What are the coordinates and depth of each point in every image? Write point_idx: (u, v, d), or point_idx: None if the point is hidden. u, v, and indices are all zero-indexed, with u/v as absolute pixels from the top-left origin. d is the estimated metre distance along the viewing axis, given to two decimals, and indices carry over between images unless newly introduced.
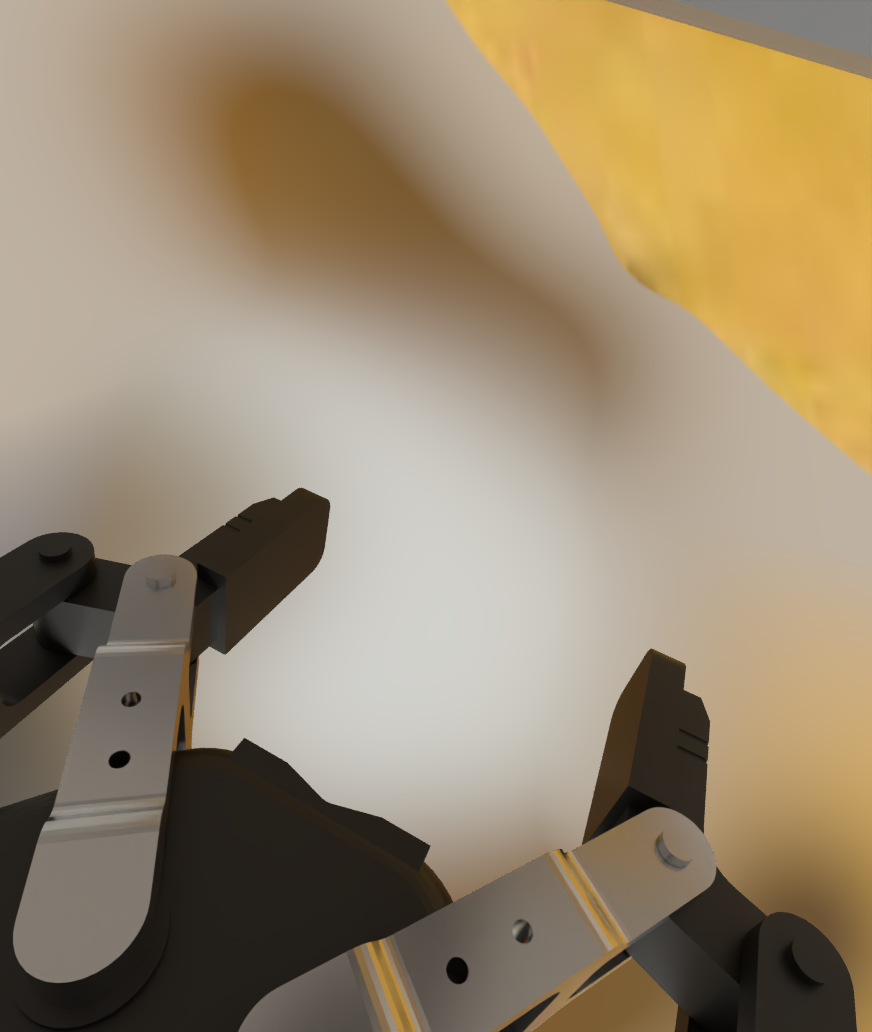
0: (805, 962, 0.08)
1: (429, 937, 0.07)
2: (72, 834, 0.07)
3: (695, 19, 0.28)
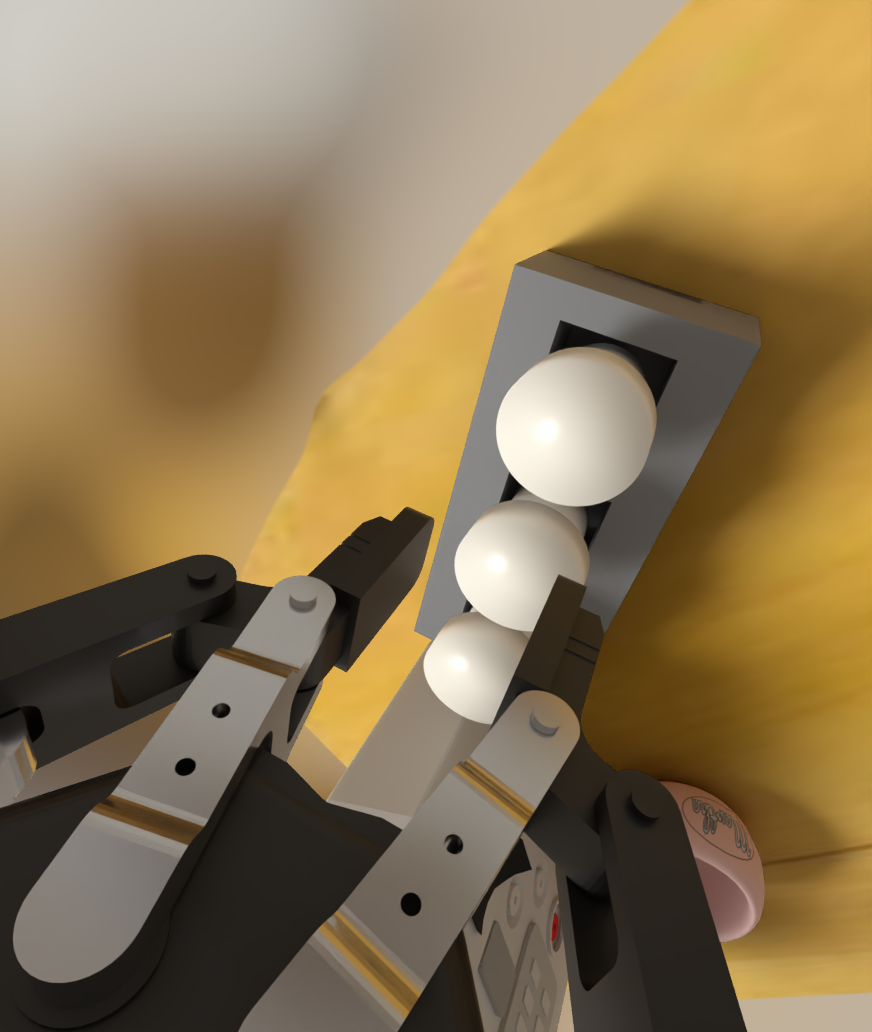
0: (644, 806, 0.09)
1: (376, 889, 0.07)
2: (111, 826, 0.07)
3: None
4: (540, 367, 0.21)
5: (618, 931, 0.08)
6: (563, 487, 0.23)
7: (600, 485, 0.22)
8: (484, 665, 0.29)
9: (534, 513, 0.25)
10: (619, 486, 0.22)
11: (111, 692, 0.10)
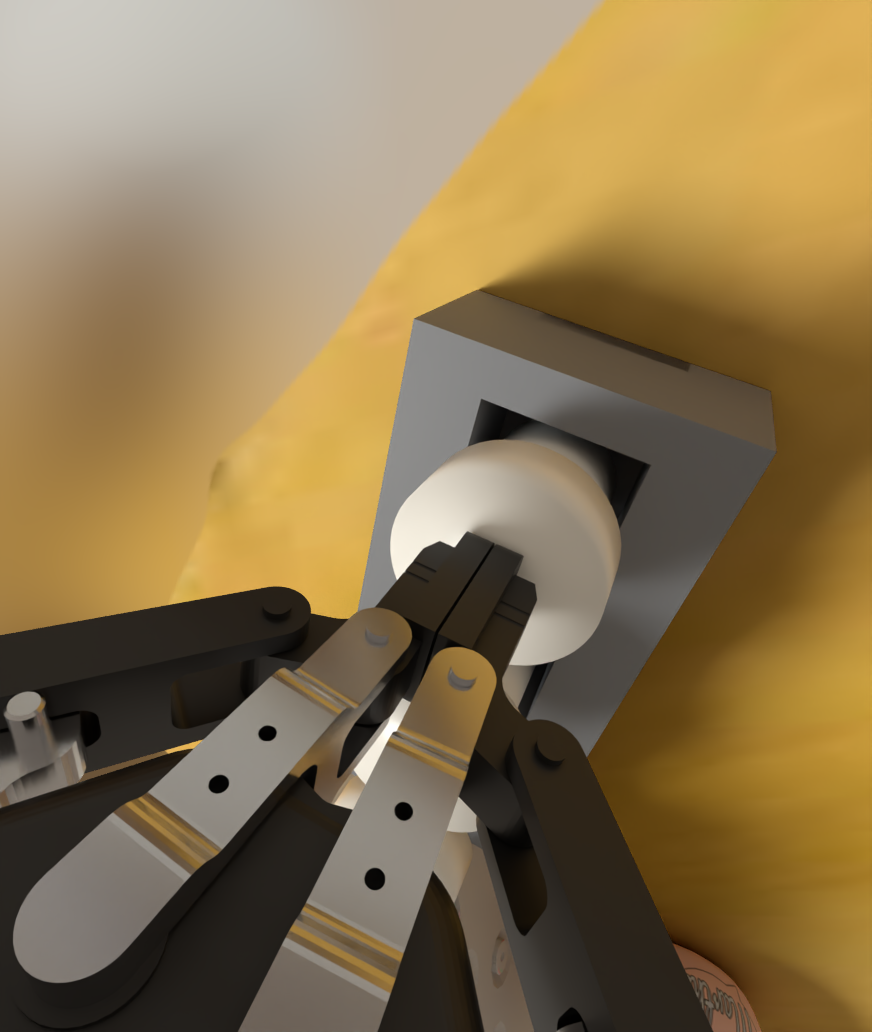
0: (550, 752, 0.09)
1: (338, 874, 0.07)
2: (133, 828, 0.07)
3: None
4: (443, 476, 0.14)
5: (544, 875, 0.09)
6: None
7: (538, 642, 0.15)
8: None
9: None
10: (565, 646, 0.15)
11: (170, 710, 0.10)
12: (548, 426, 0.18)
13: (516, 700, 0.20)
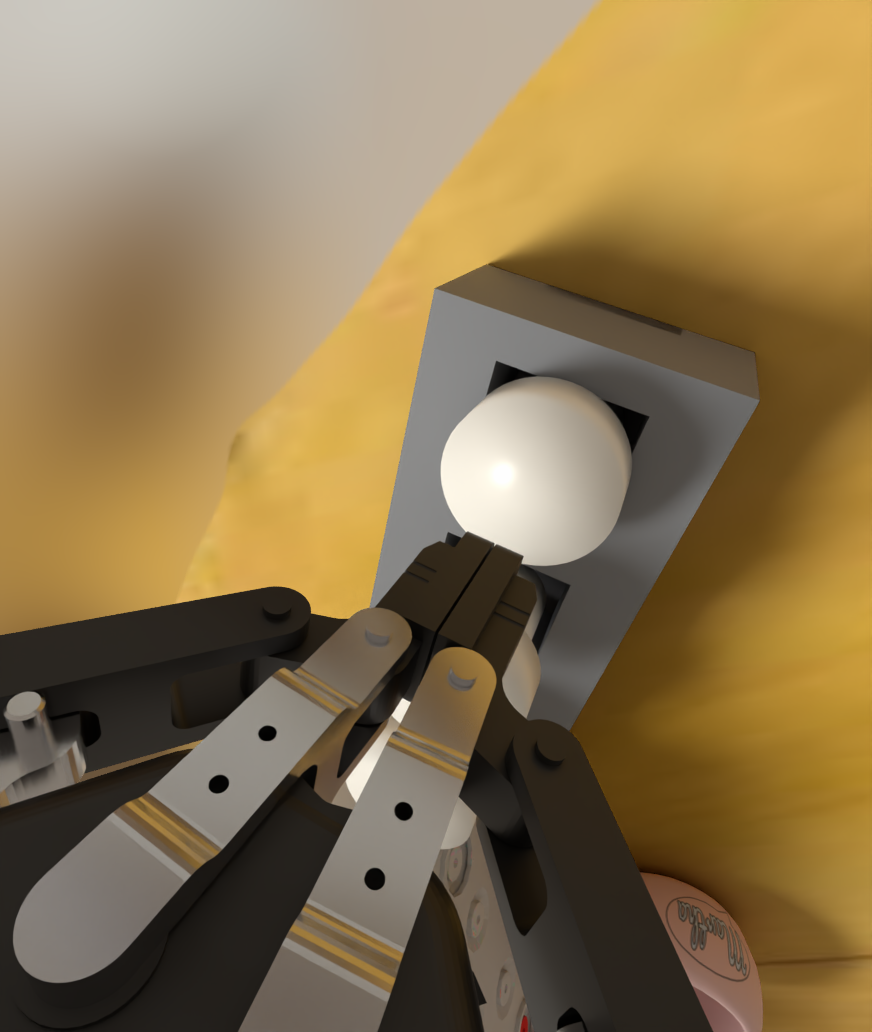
0: (549, 752, 0.09)
1: (338, 874, 0.07)
2: (133, 829, 0.07)
3: None
4: (488, 404, 0.17)
5: (544, 875, 0.09)
6: (522, 544, 0.19)
7: (565, 543, 0.19)
8: None
9: None
10: (587, 545, 0.18)
11: (170, 710, 0.10)
12: None
13: (528, 638, 0.22)
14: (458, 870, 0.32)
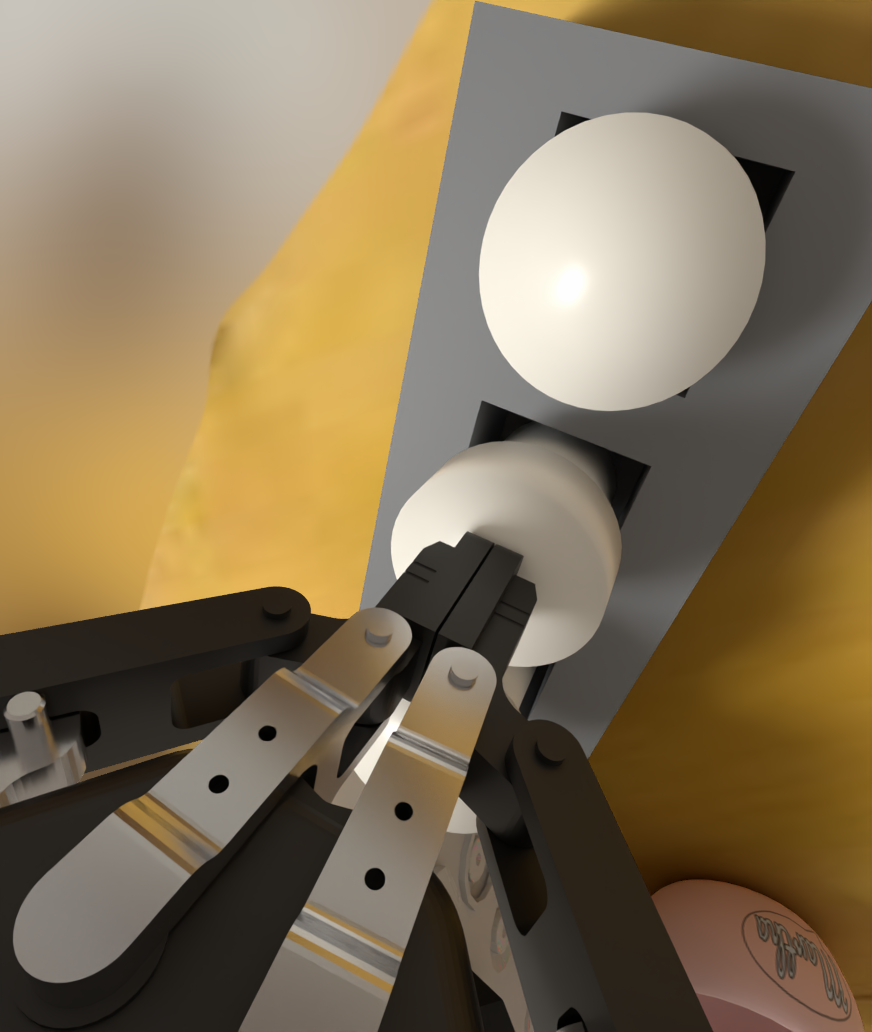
0: (550, 752, 0.09)
1: (338, 874, 0.07)
2: (133, 828, 0.07)
3: None
4: (557, 136, 0.11)
5: (544, 875, 0.09)
6: (595, 377, 0.13)
7: (663, 367, 0.13)
8: None
9: (525, 460, 0.14)
10: (698, 366, 0.12)
11: (170, 711, 0.10)
12: None
13: None
14: (481, 869, 0.26)
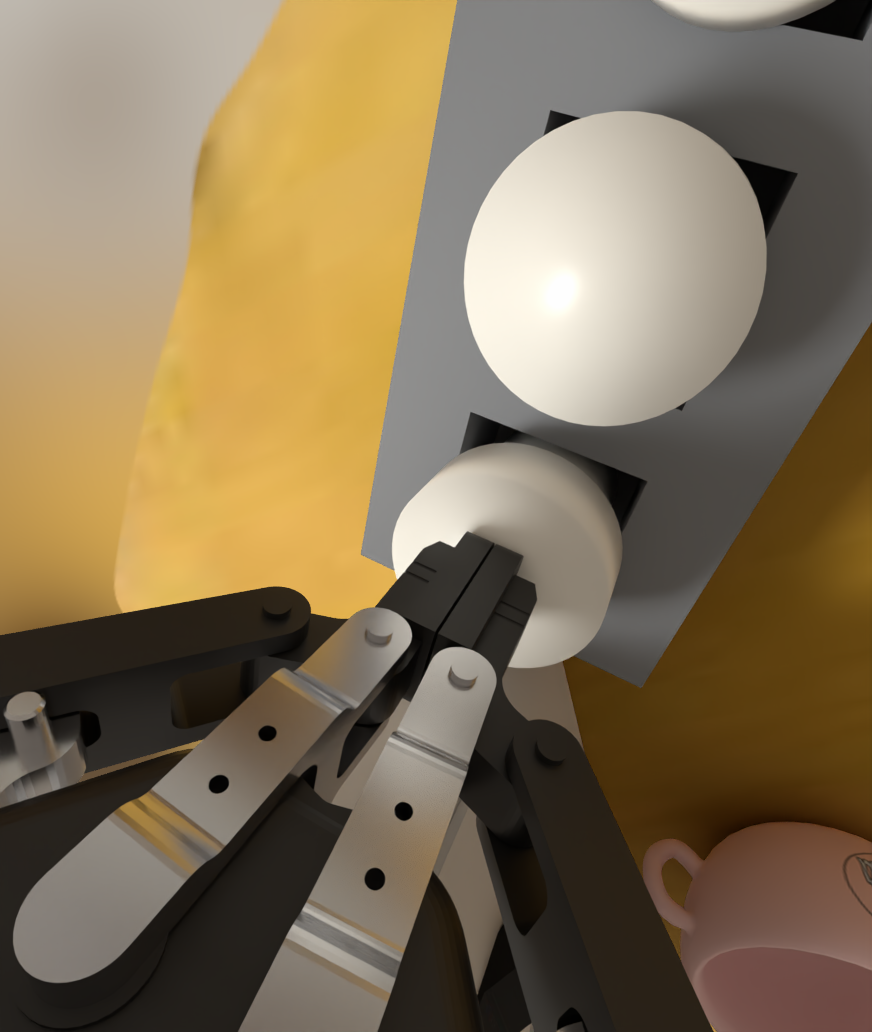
0: (550, 752, 0.09)
1: (338, 874, 0.07)
2: (133, 828, 0.07)
3: None
4: None
5: (544, 875, 0.09)
6: None
7: None
8: (513, 538, 0.14)
9: None
10: None
11: (170, 711, 0.10)
12: None
13: None
14: None
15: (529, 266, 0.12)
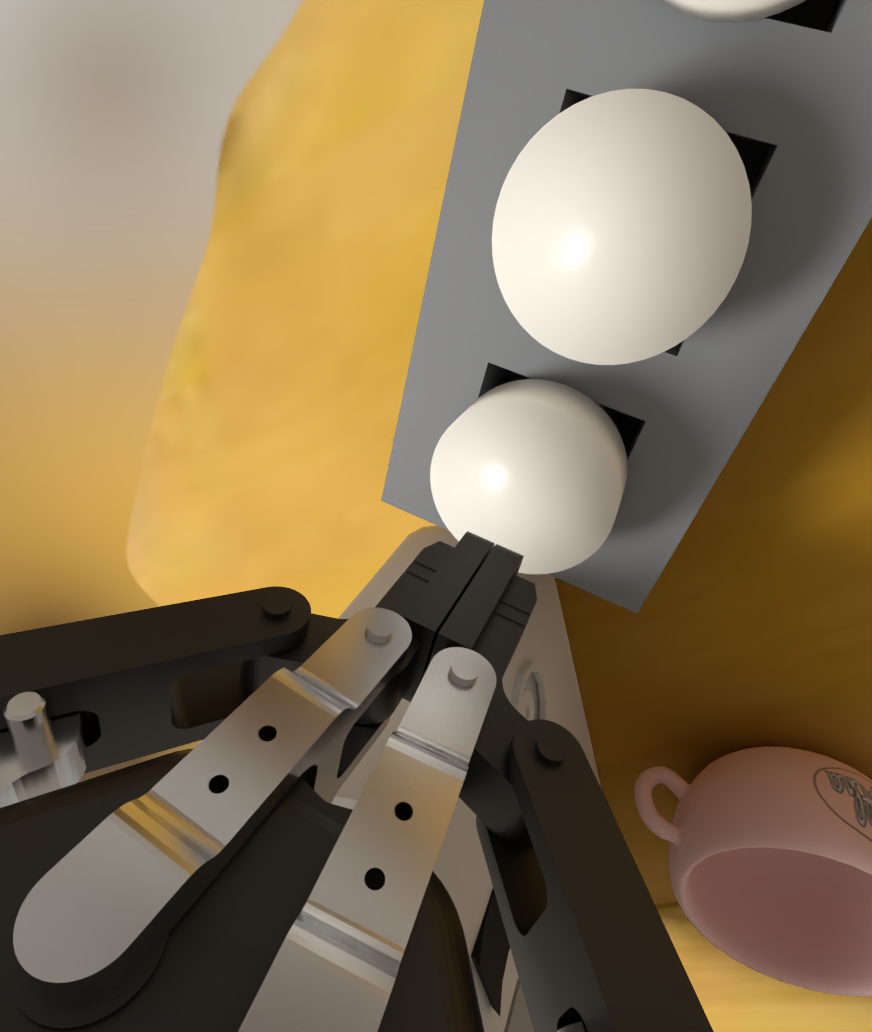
0: (550, 752, 0.09)
1: (339, 874, 0.07)
2: (133, 829, 0.07)
3: None
4: None
5: (544, 875, 0.09)
6: None
7: None
8: (538, 455, 0.17)
9: None
10: None
11: (170, 711, 0.10)
12: None
13: None
14: None
15: (550, 223, 0.14)
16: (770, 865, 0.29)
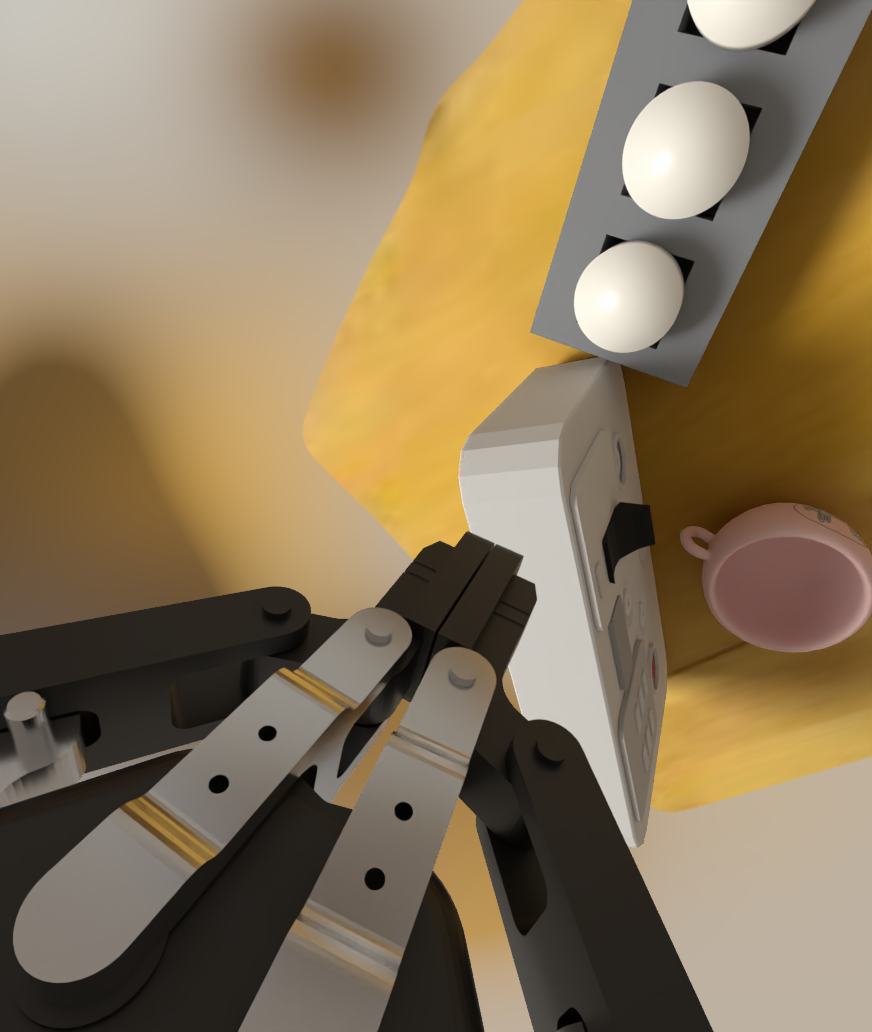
0: (549, 752, 0.09)
1: (338, 874, 0.07)
2: (133, 829, 0.07)
3: None
4: None
5: (544, 875, 0.09)
6: (746, 22, 0.26)
7: (784, 8, 0.25)
8: (638, 275, 0.32)
9: None
10: (803, 3, 0.25)
11: (170, 710, 0.10)
12: None
13: None
14: (618, 470, 0.38)
15: (653, 146, 0.29)
16: (769, 598, 0.43)
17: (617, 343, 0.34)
